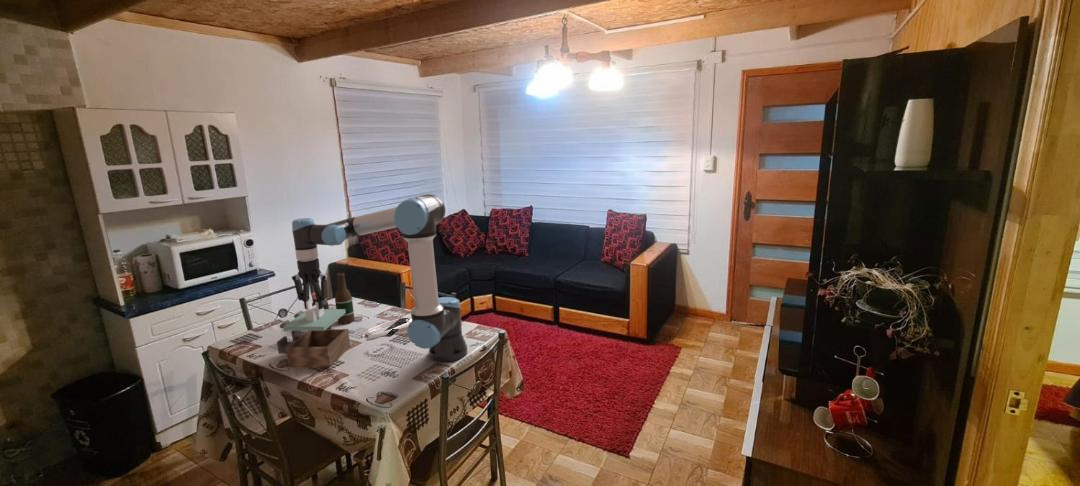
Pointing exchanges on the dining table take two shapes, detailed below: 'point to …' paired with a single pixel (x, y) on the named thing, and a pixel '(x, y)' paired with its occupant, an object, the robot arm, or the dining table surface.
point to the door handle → (376, 335)
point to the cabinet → (315, 348)
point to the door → (312, 320)
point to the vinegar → (323, 304)
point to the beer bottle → (344, 300)
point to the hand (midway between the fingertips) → (315, 316)
